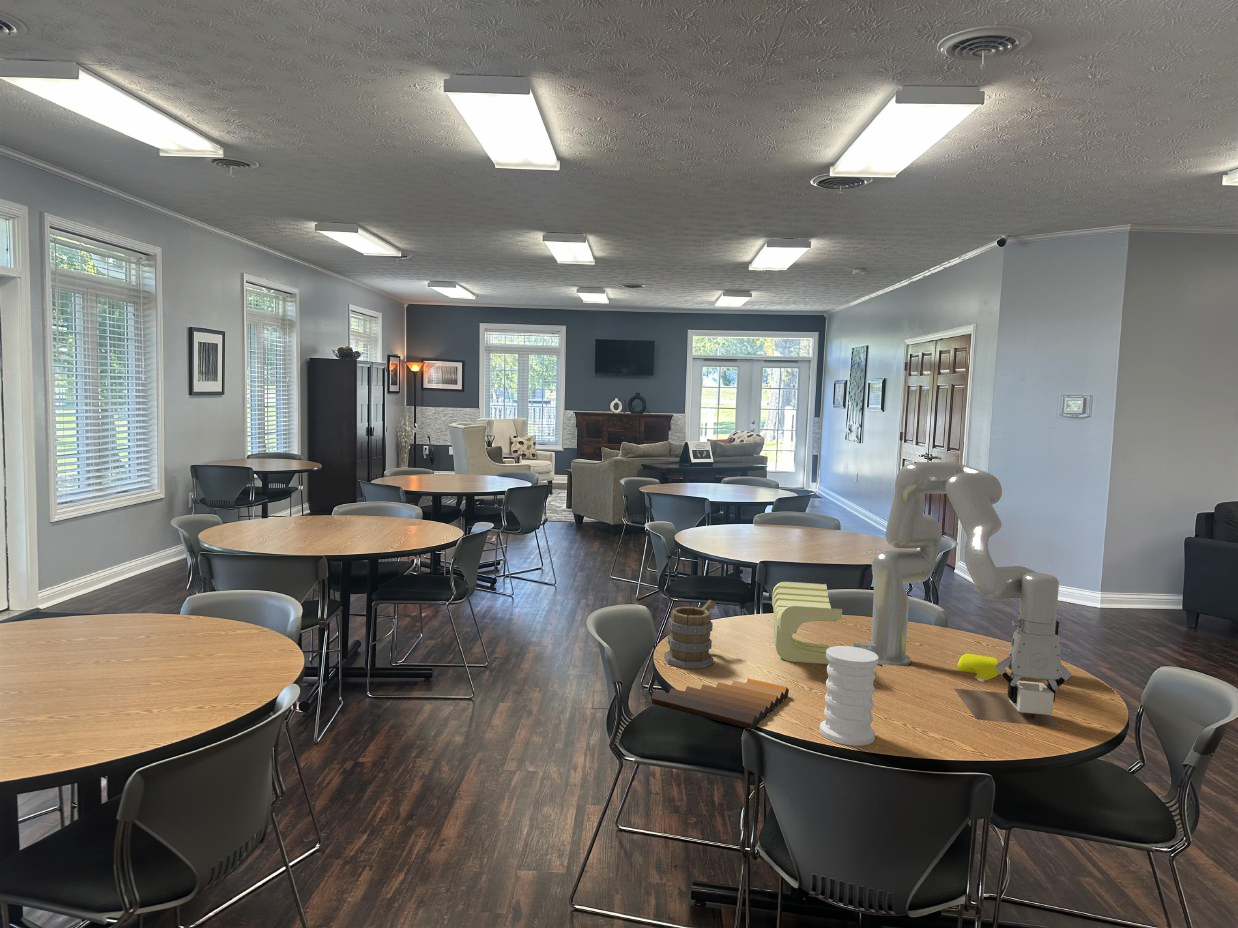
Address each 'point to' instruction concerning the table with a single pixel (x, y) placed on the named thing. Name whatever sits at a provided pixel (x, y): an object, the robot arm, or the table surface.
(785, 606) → the slatted curved stool
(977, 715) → the board
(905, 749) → the table surface
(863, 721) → the decorative container
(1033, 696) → the collar
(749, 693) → the pan flute
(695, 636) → the tankard
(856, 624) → the table surface
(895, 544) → the robot arm
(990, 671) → the spray bottle
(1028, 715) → the post
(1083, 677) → the table surface
